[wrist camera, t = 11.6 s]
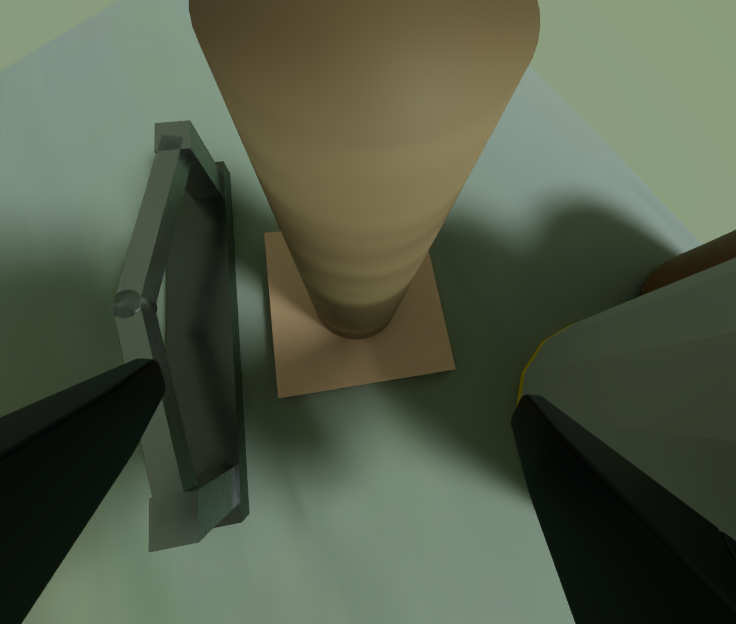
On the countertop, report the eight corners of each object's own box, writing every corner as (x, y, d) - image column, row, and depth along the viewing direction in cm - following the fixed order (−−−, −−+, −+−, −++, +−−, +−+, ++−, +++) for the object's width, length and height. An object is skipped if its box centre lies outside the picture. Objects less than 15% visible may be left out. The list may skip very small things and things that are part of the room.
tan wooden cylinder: (408, 323, 16) (604, 85, 4) (329, 351, 16) (239, 181, 3) (379, 251, 17) (456, -132, 5) (303, 274, 17) (156, -91, 4)
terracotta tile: (449, 370, 17) (455, 369, 16) (282, 398, 16) (278, 398, 15) (417, 223, 19) (420, 214, 18) (268, 241, 18) (264, 232, 17)
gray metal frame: (249, 513, 14) (205, 565, 10) (173, 528, 14) (95, 587, 10) (229, 173, 19) (194, 108, 15) (172, 178, 19) (119, 114, 14)
